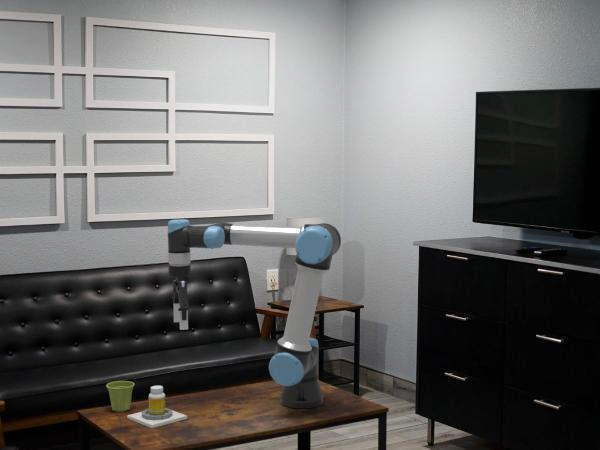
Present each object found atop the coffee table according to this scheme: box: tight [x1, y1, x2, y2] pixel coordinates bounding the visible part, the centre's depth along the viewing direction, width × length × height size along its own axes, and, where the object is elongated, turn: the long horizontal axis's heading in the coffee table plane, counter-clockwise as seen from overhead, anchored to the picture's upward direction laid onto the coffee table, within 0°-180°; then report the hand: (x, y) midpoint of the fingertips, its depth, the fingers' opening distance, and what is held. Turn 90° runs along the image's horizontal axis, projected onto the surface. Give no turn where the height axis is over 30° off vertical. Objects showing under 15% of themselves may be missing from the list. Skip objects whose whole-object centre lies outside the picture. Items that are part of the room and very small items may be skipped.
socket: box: [126, 407, 188, 429], centre depth 292 cm, size 14×14×2 cm
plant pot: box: [106, 380, 135, 413], centre depth 302 cm, size 9×9×9 cm
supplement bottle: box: [148, 385, 166, 416], centre depth 292 cm, size 5×5×10 cm
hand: (180, 325), depth 307 cm, fingers open, 13 cm apart
